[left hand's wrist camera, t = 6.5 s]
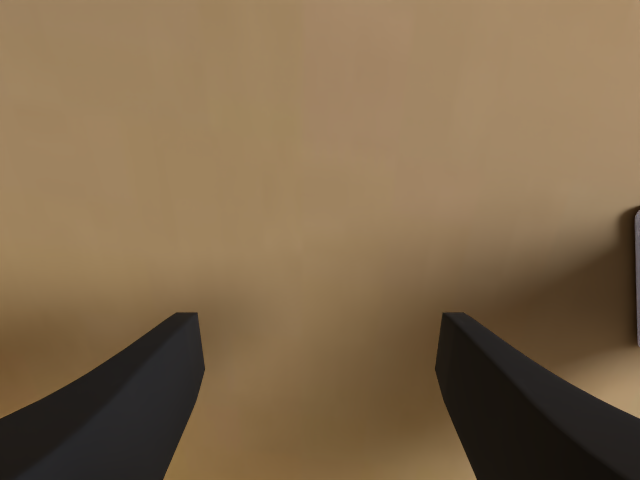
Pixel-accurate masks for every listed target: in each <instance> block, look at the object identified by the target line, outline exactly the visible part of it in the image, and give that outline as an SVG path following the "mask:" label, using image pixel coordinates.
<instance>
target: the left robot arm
mask: <svg viewBox="0 0 640 480" xmlns="http://www.w3.org/2000/svg"><path fill="white" fill-rule="evenodd" d="M635 251H636V294H637V338H638V346H639V347H640V210H639V211H638V212H637V214H636V216H635ZM204 371H205V366H204V358H203V351H202V343H201V336H200V328H199V321H198V314H197V313H175V314H173V315H172V316H170V317H169V318H167V319H166V320H164V321H163V322H162V323H160V324H159V325H157V326H156V327H155V328H153V329H152V330H151V331H149V332H148V333H146V334H145V335H144V336H142V337H141V338H139V339H138V340H137V341H135V342H134V343H132V344H131V345H130V346H128V347H127V348H125V349H124V350H122V351H121V352H119V353H118V354H116V355H115V356H113V357H112V358H110V359H109V360H107V361H106V362H104V363H103V364H101V365H100V366H98V367H96V368H95V369H93V370H92V371H90V372H89V373H87V374H85V375H84V376H82V377H81V378H79V379H77V380H75V381H74V382H72V383H70V384H68V385H67V386H65V387H63V388H61V389H59V390H58V391H56V392H54V393H52V394H50V395H48V396H47V397H45V398H43V399H41V400H39V401H37V402H35V403H33V404H30V405H28V406H26V407H24V408H22V409H20V410H18V411H16V412H14V413H12V414H10V415H8V416H5V417H3V418H1V419H0V480H163V479H164V476H165V474H166V471H167V469H168V467H169V464H170V462H171V460H172V457H173V455H174V452H175V450H176V448H177V445H178V443H179V441H180V438H181V436H182V434H183V431H184V429H185V427H186V424H187V422H188V420H189V417H190V415H191V412H192V410H193V408H194V405H195V403H196V400H197V396H198V393H199V390H200V386H201V382H202V379H203V375H204ZM435 371H436V375H437V379H438V382H439V386H440V390H441V393H442V396H443V400H444V403H445V405H446V408H447V410H448V412H449V415H450V417H451V420H452V422H453V424H454V427H455V429H456V431H457V434H458V436H459V438H460V441H461V443H462V445H463V448H464V450H465V452H466V455H467V457H468V460H469V462H470V464H471V467H472V469H473V471H474V474H475V476H476V479H477V480H640V419H639V418H637V417H635V416H633V415H631V414H628V413H626V412H624V411H622V410H620V409H618V408H616V407H614V406H612V405H610V404H608V403H606V402H604V401H602V400H600V399H598V398H596V397H594V396H592V395H590V394H588V393H587V392H585V391H583V390H581V389H579V388H577V387H576V386H574V385H572V384H570V383H568V382H567V381H565V380H563V379H562V378H560V377H558V376H556V375H555V374H553V373H552V372H550V371H548V370H547V369H545V368H544V367H542V366H541V365H539V364H537V363H536V362H534V361H533V360H531V359H530V358H528V357H527V356H525V355H524V354H522V353H521V352H519V351H518V350H516V349H515V348H513V347H512V346H511V345H509V344H508V343H506V342H505V341H504V340H502V339H501V338H499V337H498V336H497V335H495V334H494V333H492V332H491V331H490V330H488V329H487V328H486V327H484V326H483V325H481V324H480V323H479V322H477V321H476V320H474V319H473V318H471V317H470V316H468V315H467V314H465V313H443V314H442V321H441V328H440V336H439V343H438V351H437V358H436V366H435Z"/></svg>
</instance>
